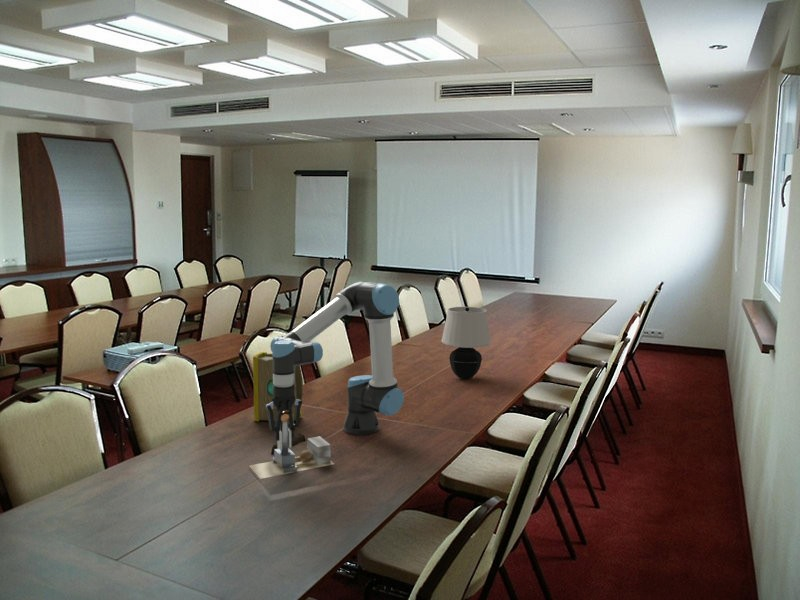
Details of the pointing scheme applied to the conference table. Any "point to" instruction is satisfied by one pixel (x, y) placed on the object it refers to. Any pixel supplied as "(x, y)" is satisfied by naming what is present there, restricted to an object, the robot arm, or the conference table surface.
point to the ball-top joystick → (285, 448)
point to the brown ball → (305, 456)
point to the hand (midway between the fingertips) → (284, 447)
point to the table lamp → (466, 339)
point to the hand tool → (292, 441)
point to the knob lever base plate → (298, 460)
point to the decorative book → (270, 385)
